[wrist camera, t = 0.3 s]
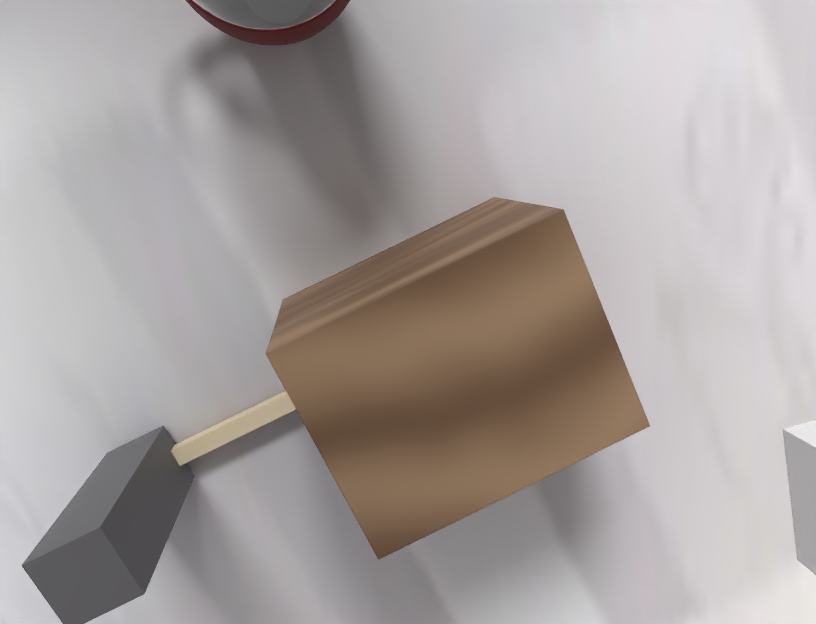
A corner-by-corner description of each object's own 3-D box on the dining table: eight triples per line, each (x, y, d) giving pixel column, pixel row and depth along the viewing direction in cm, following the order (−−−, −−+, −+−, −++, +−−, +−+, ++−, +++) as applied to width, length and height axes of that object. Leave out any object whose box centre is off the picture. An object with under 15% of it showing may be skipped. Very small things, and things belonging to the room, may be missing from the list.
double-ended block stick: (95, 434, 38) (4, 540, 27) (428, 273, 38) (469, 314, 27) (150, 520, 39) (84, 653, 28) (470, 364, 39) (525, 437, 29)
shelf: (283, 299, 37) (265, 354, 27) (494, 197, 38) (563, 209, 27) (364, 452, 40) (378, 559, 29) (562, 356, 40) (650, 425, 29)
